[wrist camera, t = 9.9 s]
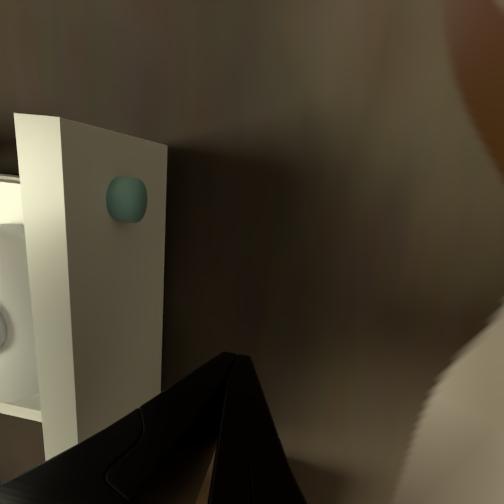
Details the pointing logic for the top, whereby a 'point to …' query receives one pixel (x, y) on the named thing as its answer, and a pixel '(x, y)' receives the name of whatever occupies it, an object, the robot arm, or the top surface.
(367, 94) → the top surface
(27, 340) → the disc
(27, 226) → the tray
